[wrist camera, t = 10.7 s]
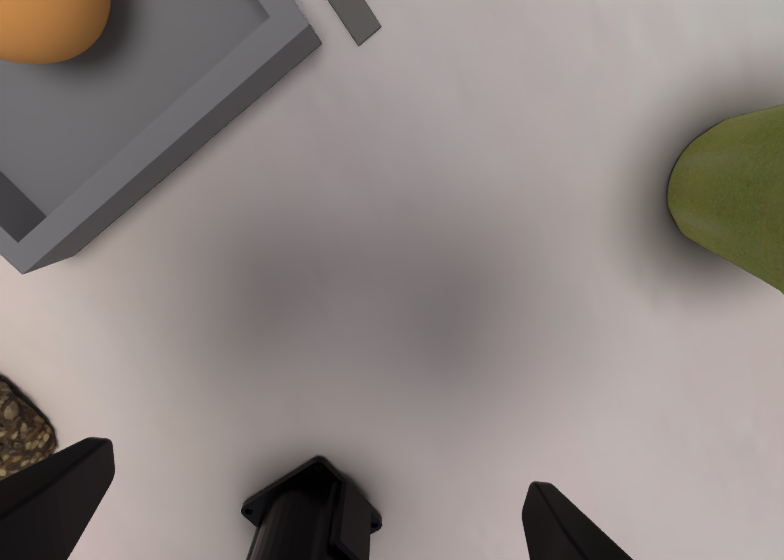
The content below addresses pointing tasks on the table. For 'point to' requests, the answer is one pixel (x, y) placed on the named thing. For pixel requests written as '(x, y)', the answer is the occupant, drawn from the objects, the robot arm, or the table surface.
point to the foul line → (356, 18)
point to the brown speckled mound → (21, 434)
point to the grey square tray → (129, 113)
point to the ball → (49, 29)
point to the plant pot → (735, 192)
